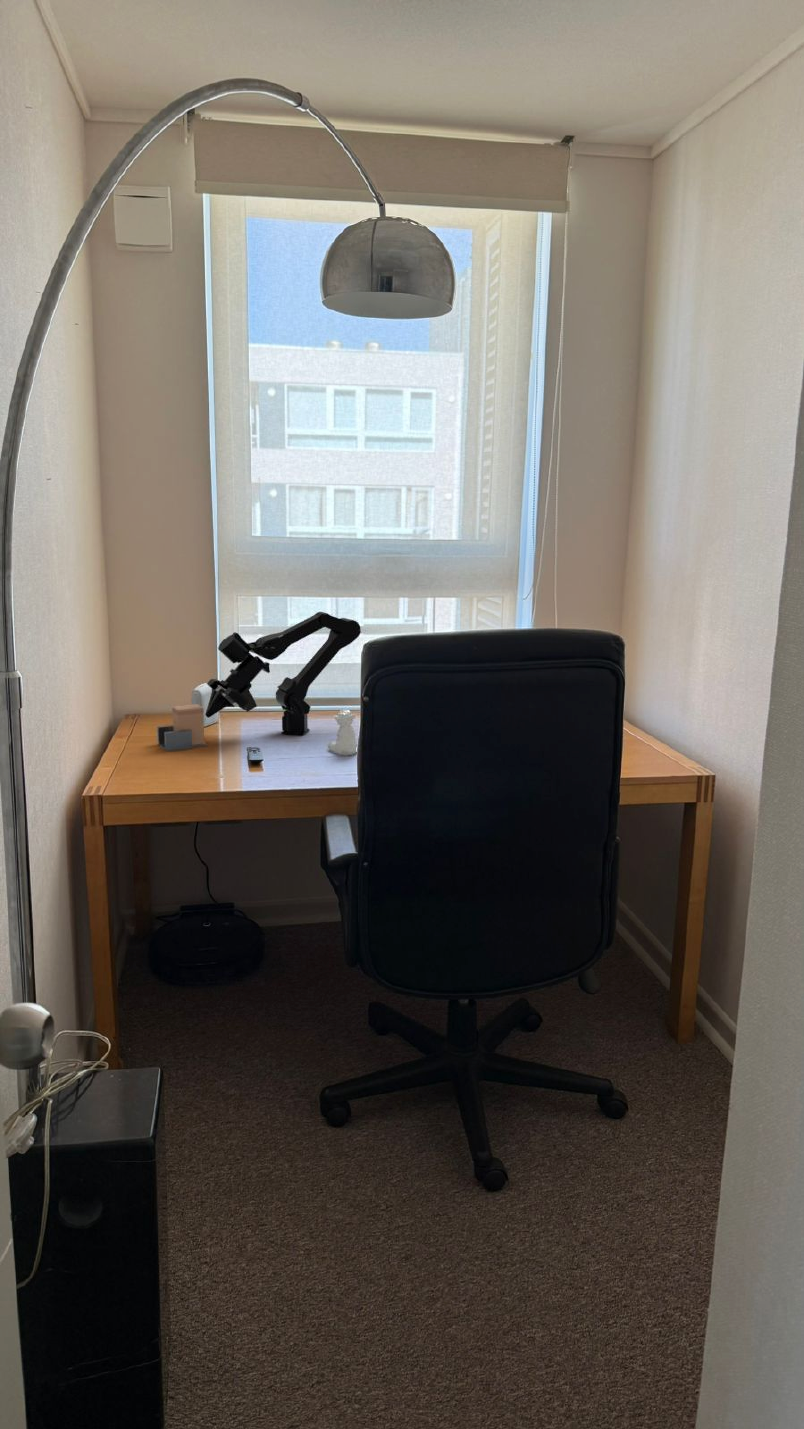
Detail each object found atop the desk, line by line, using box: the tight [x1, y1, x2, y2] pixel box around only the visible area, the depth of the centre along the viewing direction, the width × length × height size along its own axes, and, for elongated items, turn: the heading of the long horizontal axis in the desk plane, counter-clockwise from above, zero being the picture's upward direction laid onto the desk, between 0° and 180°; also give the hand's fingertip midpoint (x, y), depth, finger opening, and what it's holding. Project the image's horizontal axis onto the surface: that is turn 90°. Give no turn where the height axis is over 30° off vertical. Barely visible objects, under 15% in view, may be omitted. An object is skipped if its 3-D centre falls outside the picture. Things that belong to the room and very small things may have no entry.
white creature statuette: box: [327, 709, 358, 757], centre depth 255 cm, size 10×9×12 cm
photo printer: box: [190, 682, 220, 728], centre depth 284 cm, size 10×4×12 cm, turn 160°
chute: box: [156, 724, 208, 752], centre depth 260 cm, size 12×8×5 cm
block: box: [171, 704, 205, 745], centre depth 261 cm, size 7×5×10 cm
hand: (206, 716), depth 263 cm, fingers closed
